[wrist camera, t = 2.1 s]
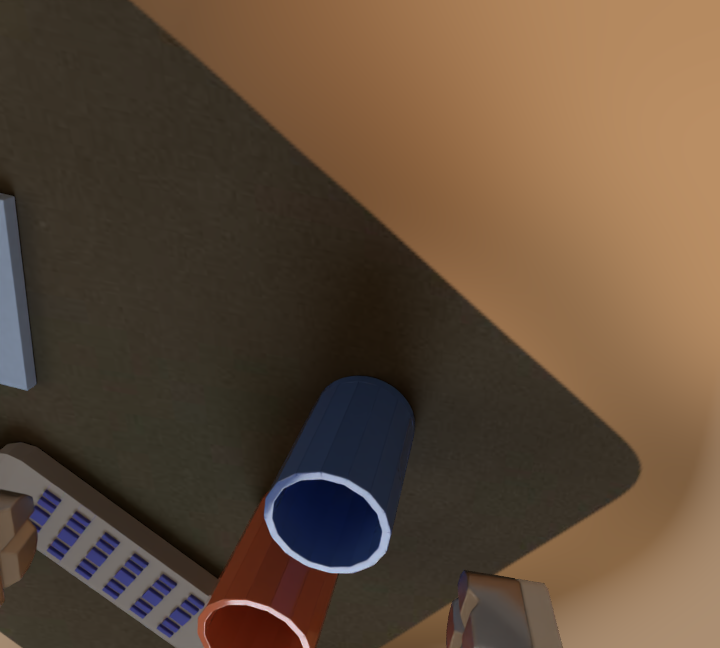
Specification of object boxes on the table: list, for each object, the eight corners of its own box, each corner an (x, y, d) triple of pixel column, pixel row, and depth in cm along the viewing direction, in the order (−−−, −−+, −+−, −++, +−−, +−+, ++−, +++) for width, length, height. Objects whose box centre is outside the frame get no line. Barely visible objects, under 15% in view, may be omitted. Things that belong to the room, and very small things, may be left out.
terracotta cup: (262, 471, 42) (198, 585, 33) (357, 497, 41) (318, 620, 33) (255, 542, 45) (195, 663, 37) (344, 568, 45) (305, 697, 36)
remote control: (201, 639, 52) (189, 662, 50) (-17, 485, 50) (-38, 504, 48) (248, 599, 49) (238, 622, 47) (16, 431, 46) (-5, 448, 44)
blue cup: (321, 364, 37) (268, 457, 29) (424, 389, 37) (400, 492, 28) (310, 447, 40) (259, 553, 32) (405, 472, 40) (378, 587, 31)
